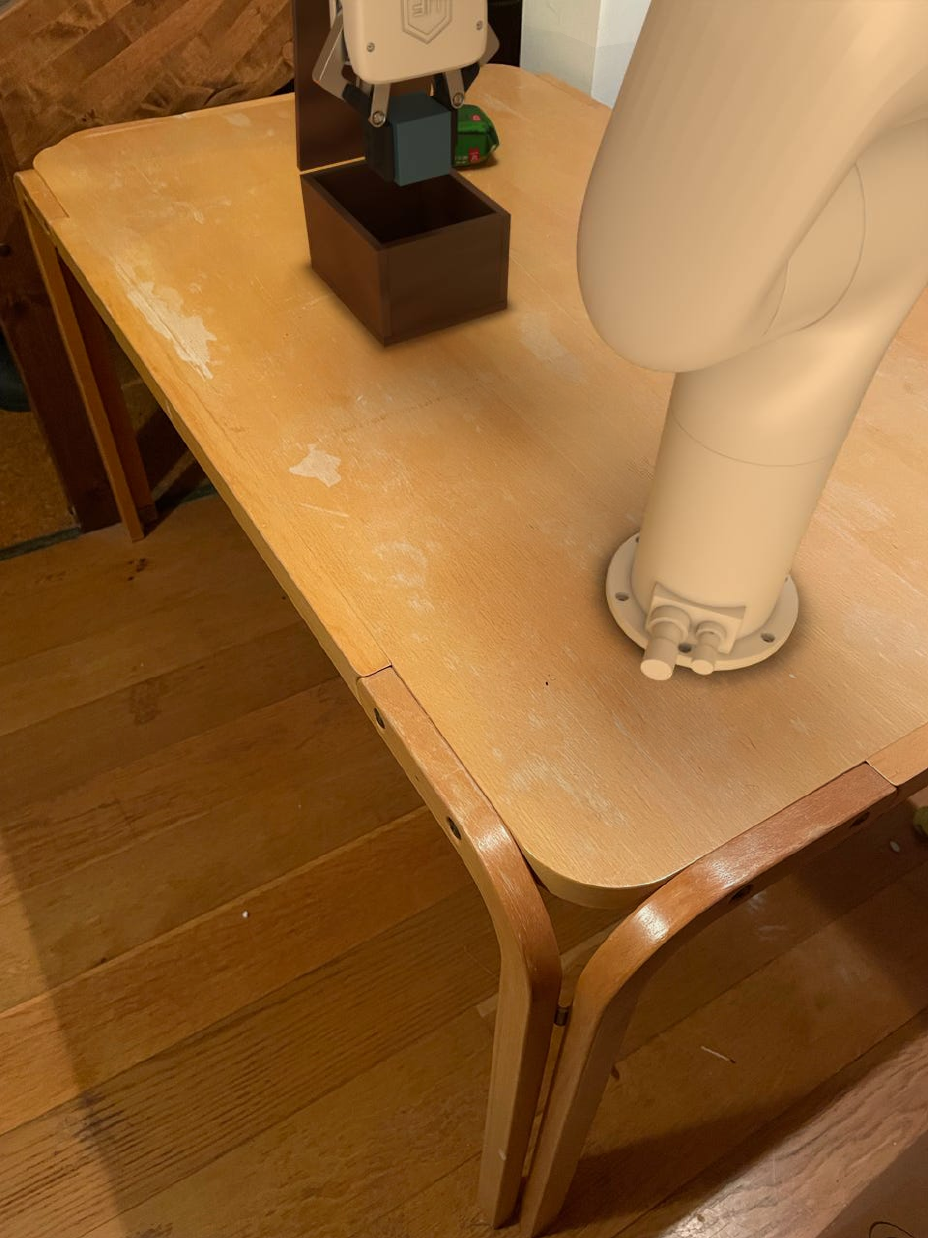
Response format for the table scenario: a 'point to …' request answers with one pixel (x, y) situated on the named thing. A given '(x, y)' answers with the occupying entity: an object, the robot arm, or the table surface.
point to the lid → (327, 95)
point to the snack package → (474, 136)
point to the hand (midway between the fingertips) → (412, 163)
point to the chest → (407, 248)
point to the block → (419, 137)
